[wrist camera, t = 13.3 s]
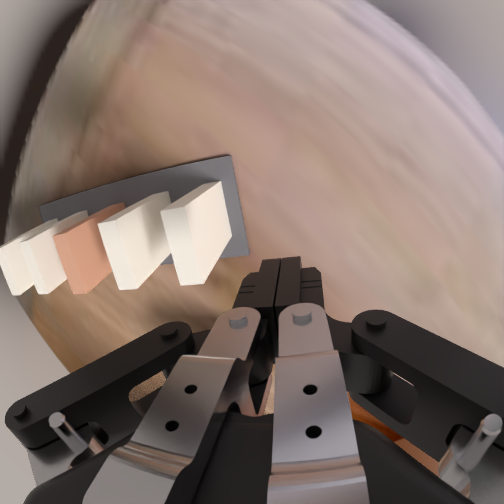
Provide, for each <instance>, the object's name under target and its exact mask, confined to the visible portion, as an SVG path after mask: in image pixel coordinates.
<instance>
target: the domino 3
mask: <svg viewBox="0 0 504 504" xmlns="http://www.w3.org/2000/svg"><path fill="white" fill-rule="evenodd" d="M124 209H125V205H124V202H123V203H118V204H114V205H111V206H109V207H107V208H105V209H103V210H101V211H99V212H97V213H95V214H93V215H91V216H89V217H87V218H85V219H83V220H81V221H79V222H77V223H75V224H73V225H72V226H70V227H68V228H66V229H64V230H62V231H61V232H59V233H57V234H55V235H53V236H52V237H53V240H54V243H55V246H56V249H57V252H58V255H59V258H60V260H61V263H62V266H63V269H64V271H65V274H66V277H67V279H68V282H69V284H70V287H71V289H72V292H73V294H87V293H88V292H89V291H90V290H91V289H92V288H94V287H95V286H96V285H97V284H98V283H99V282H100V281H101V280H103V279H104V278H105V277H106V276H107V275H108V274H109V273H111V272H112V268H111V265H110V262H109V259H108V256H107V253H106V250H105V247H104V244H103V240H102V237H101V234H100V231H99V227H98V223H100V222H102V221H104V220H105V219H107V218H109V217H111V216H113V215H114V214H116V213H118V212H120V211H122V210H124Z"/></svg>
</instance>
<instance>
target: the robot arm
mask: <svg viewBox="0 0 504 504" xmlns="http://www.w3.org/2000/svg"><path fill="white" fill-rule="evenodd" d="M273 364H275V394H274V413H272V414H267V415H264V411H265V407H266V403H267V400H268V396H269V392H270V388H271V384H272V375H271V372H272V366H273ZM161 371H162V372H163V374H164V376H165V378H166V381H165V383H164V385H163V386H161V387H160V388H158V389H156V390H155V391H153V392H151V393H150V394H148V395H146V396H145V397H143V398H141V399H140V400H138V401H135V402H130V400H129V392H130V391H131V389H132V388H133V387H135V386H137V385H138V384H140V383H142V382H144V381H145V380H147V379H149V378H150V377H152V376H154V375H156V374H157V373H159V372H161ZM393 372H394V373H395V374H397V375H399V376H400V377H402V378H404V379H405V380H407V381H408V382H410V383H411V384H413V385H414V386H413V385H411V384H409V383H408V382H406V381H404V380H403V379H401V378H400V377H398V376H396V375H395V374H393ZM347 391H349V395H350V397H351V398H352V400H354V401H355V402H356V403H357V404H359V405H360V406H361V407H363V408H364V409H365V410H367V411H368V412H369V413H371V414H372V415H373V416H375V417H376V418H377V419H379V420H380V421H381V422H383V423H384V424H385V425H387V426H388V427H390V428H391V429H392V430H394V431H395V432H396V433H398V434H399V435H401V436H402V437H403V438H405V439H406V440H408V441H409V442H410V443H412V444H413V445H415V446H416V447H418V448H419V449H421V450H422V451H423V452H425V453H426V454H428V455H429V456H431V457H432V458H434V459H435V460H437V461H438V462H439V466H438V472H439V476H440V478H439V477H438V476H436V475H435V474H434V473H433V472H431V471H430V470H428V469H427V468H426V467H425V466H423V465H422V464H421V463H419V462H418V461H417V460H415V459H414V458H413V457H412V456H410V455H409V454H408V453H407V452H405V451H404V450H403V449H402V448H400V447H399V446H398V445H396V444H395V443H394V442H393V441H392V440H390V439H389V438H388V437H387V436H385V435H384V434H383V433H381V432H380V431H378V430H377V429H375V428H373V427H372V426H370V425H367V424H365V423H363V422H360V421H357V420H353V419H352V415H351V409H350V404H349V399H348V395H347ZM5 424H6V426H7V427H8V428H9V429H10V430H11V432H12V433H13V434H14V435H15V436H16V437H17V438H18V439H19V441H20V442H21V443H22V445H23V446H24V447H25V448H26V449H27V452H28V456H29V460H30V464H31V468H32V471H33V475H34V478H35V481H36V485H37V487H36V488H35V489H33V490H32V491H31V492H30V493H29V495H28V496H27V498H26V499H25V501H24V503H23V504H504V368H503V367H501V366H499V365H497V364H495V363H493V362H491V361H489V360H487V359H485V358H483V357H481V356H479V355H477V354H475V353H473V352H471V351H469V350H466V349H464V348H462V347H460V346H458V345H456V344H454V343H452V342H450V341H448V340H446V339H444V338H442V337H440V336H438V335H436V334H434V333H432V332H430V331H428V330H426V329H423V328H421V327H419V326H417V325H415V324H413V323H411V322H409V321H407V320H405V319H403V318H401V317H399V316H397V315H395V314H393V313H390V312H388V311H384V310H368V311H365V312H362V313H360V314H358V315H357V316H356V317H355V318H354V319H353V321H352V323H348V322H341V321H337V320H335V319H333V318H331V317H329V316H328V315H327V314H326V312H325V309H324V299H323V289H322V280H321V273H320V272H319V271H318V270H317V269H316V268H315V267H310V268H302V264H301V257H300V256H298V257H287V258H282V260H281V258H277V259H267V260H262V263H261V267H260V270H259V272H255V273H250V274H249V275H247V276H246V277H245V278H244V279H243V281H242V283H241V286H240V289H239V292H238V294H237V297H236V300H235V302H234V305H233V308H232V309H230V310H228V311H226V312H224V313H222V314H221V315H220V316H219V317H218V318H217V320H216V322H215V323H214V325H213V327H212V329H210V330H206V331H201V332H197V333H192V331H191V328H190V326H189V325H188V324H186V323H184V322H170V323H166V324H163V325H161V326H159V327H157V328H155V329H154V330H152V331H150V332H148V333H146V334H144V335H142V336H141V337H139V338H137V339H135V340H133V341H131V342H129V343H128V344H126V345H124V346H122V347H120V348H118V349H116V350H114V351H113V352H111V353H109V354H107V355H105V356H103V357H101V358H99V359H97V360H96V361H94V362H92V363H90V364H88V365H86V366H84V367H82V368H80V369H78V370H77V371H75V372H73V373H71V374H69V375H67V376H65V377H63V378H61V379H59V380H57V381H55V382H53V383H52V384H49V385H48V386H46V387H44V388H42V389H40V390H38V391H36V392H34V393H32V394H30V395H28V396H26V397H24V398H22V399H20V400H18V401H17V402H15V403H14V404H13V405H12V406H11V407H10V408H9V409H8V411H7V413H6V416H5Z"/></svg>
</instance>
